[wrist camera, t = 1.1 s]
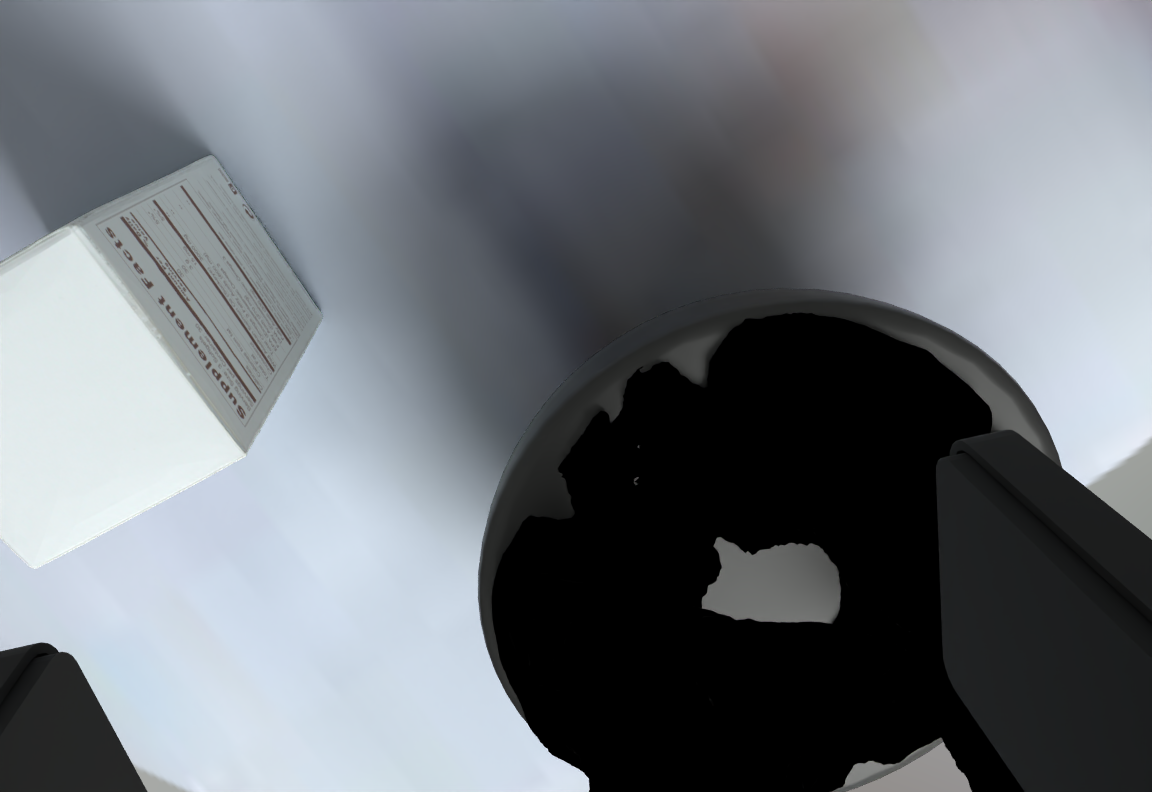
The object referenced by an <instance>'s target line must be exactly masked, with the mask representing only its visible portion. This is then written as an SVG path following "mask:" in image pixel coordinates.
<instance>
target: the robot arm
mask: <svg viewBox="0 0 1152 792" xmlns="http://www.w3.org/2000/svg"><path fill="white" fill-rule="evenodd" d="M936 486H937V513H938V539H939V566H940V593H941V620H942V646H943V660H944V664H945V668H946V671H947V674H948V677H949V679H950V682H951V684H952V686H953V688H954V689H955V691H956V693H957V694H958V696H959V697H960V698H961V700H962V701H963V703H964V704H965V706H966V707H967V709H968V710H969V712H970V713H971V714H972V716H973V717H974V719H975V720H976V722H977V723H978V725H979V726H980V728H981V729H982V730H983V732H984V733H985V735H986V736H987V738H988V739H989V741H990V742H991V744H992V745H993V746H994V748H995V749H996V751H997V752H998V754H999V755H1000V757H1001V758H1002V760H1003V761H1004V762H1005V764H1006V765H1007V767H1008V768H1009V770H1010V771H1011V773H1012V774H1013V776H1014V777H1015V778H1016V780H1017V781H1018V783H1019V784H1020V786H1021V787H1022V789H1023V790H1024V792H1152V540H1151V539H1150V538H1149V537H1148V536H1146V535H1145V534H1144V533H1143V532H1141V531H1140V530H1139V529H1138V528H1136V527H1135V526H1134V525H1133V524H1131V523H1130V522H1129V521H1128V520H1126V519H1125V518H1124V517H1123V516H1121V515H1120V514H1119V513H1118V512H1116V511H1115V510H1114V509H1113V508H1111V507H1110V506H1109V505H1107V504H1106V503H1105V502H1104V501H1102V500H1101V499H1100V498H1099V497H1097V496H1096V495H1095V494H1094V493H1092V492H1091V491H1090V490H1089V489H1087V488H1086V487H1085V486H1084V485H1082V484H1081V483H1080V482H1079V481H1077V480H1076V479H1075V478H1074V477H1072V476H1071V475H1070V474H1069V473H1067V472H1066V471H1065V470H1064V469H1062V468H1061V467H1060V466H1059V465H1057V464H1056V463H1055V462H1054V461H1052V460H1051V459H1050V458H1049V457H1047V456H1046V455H1045V454H1044V453H1042V452H1041V451H1040V450H1039V449H1037V448H1036V447H1035V446H1034V445H1032V444H1031V443H1030V442H1029V441H1027V440H1026V439H1025V438H1023V437H1022V436H1021V435H1020V434H1018V433H1017V432H1015V431H1013V430H1002V431H997V432H993V433H988V434H984V435H979V436H975V437H970V438H966V439H961V440H957V441H955V442H954V443H953V444H952V447H951V450H950V456H947V457H943V458H940V459H939V460H938V462H937V466H936ZM0 792H147V790H146V789H145V786H144V785H143V783H142V781H141V779H140V777H139V775H138V774H137V772H136V770H135V768H134V766H133V764H132V762H131V761H130V759H129V757H128V755H127V753H126V751H125V750H124V748H123V746H122V744H121V742H120V740H119V738H118V737H117V735H116V733H115V731H114V729H113V727H112V726H111V724H110V722H109V720H108V718H107V716H106V714H105V713H104V711H103V709H102V707H101V705H100V703H99V702H98V700H97V698H96V696H95V694H94V692H93V690H92V689H91V687H90V685H89V683H88V681H87V679H86V678H85V676H84V674H83V672H82V670H81V668H80V666H79V665H78V663H77V661H76V660H75V659H74V657H73V656H72V655H70V654H69V653H66V652H58V650H57V649H56V648H55V647H53V646H52V645H50V644H48V643H36V644H32V645H27V646H23V647H18V648H14V649H9V650H5V651H0Z"/></svg>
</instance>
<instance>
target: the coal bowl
mask: <svg viewBox="0 0 1152 792" xmlns="http://www.w3.org/2000/svg"><path fill="white" fill-rule="evenodd" d="M1002 430H1013V431H1015V432H1017V433H1018V434H1020V435H1021V436H1022V437H1023V438H1025V439H1026V440H1027V441H1029V442H1030V443H1031V444H1032V445H1034V446H1035V447H1036V448H1037V449H1039V450H1040V451H1041V452H1042V453H1044V454H1045V455H1046V456H1047V457H1049V458H1050V459H1051V460H1052V461H1054V462H1055V463H1056V464H1057V465H1059V466H1060V467H1061V468H1062V466H1061V462H1060V459H1059V455H1058V452H1057V450H1056V447H1055V445H1054V443H1053V440H1052V438H1051V435H1050V433H1049V431H1048V429H1047V427H1046V425H1045V423H1044V422H1043V420H1042V418H1041V416H1040V415H1039V413H1038V411H1037V409H1036V408H1035V406H1034V404H1033V403H1032V402H1031V400H1030V399H1029V398H1028V396H1027V395H1026V394H1025V392H1024V391H1023V390H1022V388H1021V387H1020V386H1019V384H1018V383H1017V382H1016V381H1015V380H1014V379H1013V378H1012V377H1011V376H1010V375H1009V374H1008V373H1007V371H1006V370H1005V369H1004V368H1003V367H1002V366H1001V365H1000V364H999V363H997V362H996V361H995V360H994V359H993V358H991V357H990V356H989V355H988V354H986V353H985V352H984V351H983V350H981V349H980V348H979V347H978V346H976V345H975V344H973V343H971V342H970V341H968V340H967V339H965V338H963V337H962V336H960V335H959V334H957V333H955V332H954V331H952V330H950V329H948V328H946V327H944V326H942V325H940V324H938V323H936V322H934V321H931V320H929V319H927V318H925V317H923V316H921V315H919V314H916V313H914V312H911V311H908V310H905V309H902V308H900V307H897V306H894V305H891V304H888V303H885V302H882V301H878V300H874V299H869V298H865V297H861V296H857V295H852V294H848V293H841V292H833V291H826V290H817V289H785V288H777V289H763V290H750V291H744V292H738V293H732V294H726V295H721V296H717V297H713V298H709V299H706V300H702V301H698V302H694V303H691V304H688V305H686V306H683V307H680V308H678V309H675V310H672V311H669V312H667V313H664V314H662V315H660V316H658V317H656V318H653V319H651V320H649V321H647V322H645V323H643V324H641V325H639V326H637V327H636V328H634V329H632V330H631V331H629V332H627V333H625V334H624V335H622V336H620V337H619V338H617V339H615V340H614V341H613V342H611V343H610V344H609V345H607V346H606V347H604V348H603V349H602V350H600V351H599V352H597V353H596V354H595V355H593V356H592V357H591V358H590V359H588V360H587V361H586V362H585V363H584V364H583V365H582V366H580V367H579V368H578V369H577V370H576V371H575V372H574V373H572V374H571V375H570V376H569V377H568V378H567V379H566V381H565V382H564V383H563V384H562V385H561V386H560V387H559V388H558V389H557V390H556V391H555V392H554V393H553V394H552V395H551V397H550V398H549V399H548V401H547V402H546V403H545V404H544V406H543V407H542V408H541V410H540V411H539V412H538V413H537V415H536V416H535V417H534V419H533V420H532V422H531V423H530V425H529V427H528V428H527V430H526V431H525V433H524V434H523V436H522V438H521V439H520V441H519V442H518V444H517V446H516V447H515V449H514V451H513V453H512V455H511V457H510V459H509V462H508V464H507V466H506V468H505V470H504V472H503V474H502V477H501V479H500V482H499V485H498V488H497V490H496V493H495V496H494V499H493V501H492V504H491V507H490V512H489V516H488V520H487V524H486V528H485V532H484V536H483V541H482V548H481V556H480V563H479V571H478V602H479V611H480V620H481V626H482V630H483V634H484V639H485V643H486V647H487V650H488V652H489V655H490V658H491V661H492V664H493V666H494V669H495V671H496V674H497V676H498V678H499V680H500V682H501V684H502V686H503V688H504V690H505V692H506V694H507V695H508V697H509V698H510V700H511V702H512V703H513V705H514V706H515V708H516V709H517V711H518V712H519V714H520V715H521V716H522V717H523V719H524V720H525V721H526V722H527V723H528V725H529V727H530V729H531V730H532V732H533V733H534V734H535V735H536V736H537V737H538V739H539V740H540V742H541V743H542V744H543V745H544V746H545V747H546V748H548V751H549V752H550V753H551V754H552V755H553V756H555V757H557V758H559V759H561V760H564V761H565V762H567V763H569V764H571V765H572V766H574V767H576V768H578V769H580V770H581V771H583V772H584V773H585V775H586V776H587V777H588V778H589V787H590V790H589V792H846V791H849V790H852V789H855V788H858V787H860V786H863V785H865V784H867V783H870V782H872V781H875V780H877V779H879V778H882V777H884V776H886V775H888V774H890V773H892V772H894V771H896V770H898V769H900V768H902V767H904V766H906V765H907V764H909V763H911V762H912V761H914V760H916V759H917V758H919V757H921V756H923V755H924V754H926V753H928V752H929V751H930V750H932V749H933V748H935V747H936V746H938V745H939V744H940V743H942V742H944V743H945V746H946V748H947V749H948V750H949V751H950V753H951V756H952V757H953V759H954V760H955V761H956V766H957V767H958V769H959V770H960V771H961V772H963V773H964V774H965V776H966V777H967V779H968V781H969V785H970V788H971V790H972V792H1024V790H1023V789H1022V787H1021V786H1020V784H1019V783H1018V781H1017V780H1016V778H1015V777H1014V776H1013V774H1012V773H1011V771H1010V770H1009V768H1008V767H1007V765H1006V764H1005V762H1004V761H1003V760H1002V758H1001V757H1000V755H999V754H998V752H997V751H996V749H995V748H994V746H993V745H992V744H991V742H990V741H989V739H988V738H987V736H986V735H985V733H984V732H983V730H982V729H981V728H980V726H979V725H978V723H977V722H976V720H975V719H974V717H973V716H972V714H971V713H970V712H969V710H968V709H967V707H966V706H965V704H964V703H963V701H962V700H961V698H960V697H959V696H958V694H957V693H956V691H955V689H954V688H953V686H952V684H951V682H950V679H949V677H948V674H947V671H946V668H945V664H944V660H943V646H942V620H941V593H940V566H939V539H938V513H937V486H936V466H937V462H938V460H939V459H940V458H943V457H947V456H950V450H951V447H952V444H953V443H954V442H955V441H957V440H961V439H966V438H970V437H975V436H979V435H984V434H988V433H993V432H997V431H1002Z"/></svg>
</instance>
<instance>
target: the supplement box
mask: <svg viewBox="0 0 1152 792" xmlns="http://www.w3.org/2000/svg"><path fill="white" fill-rule="evenodd" d="M322 319H323V315H322V313H321V312H320V310H319V309H318V308H317V306H316V305H315V303H314V302H313V300H312V299H311V297H310V296H309V294H308V293H307V291H306V290H305V288H304V287H303V285H302V284H301V282H300V281H299V280H298V278H297V277H296V275H295V274H294V272H293V270H292V269H291V268H290V266H289V265H288V263H287V262H286V260H285V259H284V257H283V256H282V254H281V253H280V252H279V250H278V248H277V247H276V245H275V244H274V243H273V241H272V240H271V238H270V237H269V235H268V234H267V232H266V231H265V229H264V228H263V226H262V225H261V223H260V222H259V220H258V219H257V217H256V216H255V214H254V213H253V211H252V210H251V209H250V207H249V206H248V204H247V203H246V201H245V200H244V198H243V197H242V195H241V194H240V192H239V191H238V189H237V188H236V187H235V185H234V184H233V182H232V181H231V179H230V178H229V176H228V175H227V173H226V172H225V170H224V169H223V167H222V166H221V165H220V163H219V162H218V160H217V159H216V158H215V157H214V156H213V155H209V156H206V157H204V158H202V159H199V160H197V161H195V162H193V163H191V164H189V165H187V166H185V167H183V168H181V169H179V170H177V171H175V172H173V173H171V174H169V175H167V176H165V177H163V178H161V179H158V180H156V181H154V182H152V183H150V184H148V185H146V186H143V187H141V188H139V189H137V190H135V191H133V192H130V193H128V194H126V195H124V196H122V197H119V198H117V199H115V200H113V201H111V202H108V203H106V204H104V205H102V206H100V207H97V208H95V209H94V210H92V211H90V212H88V213H86V214H84V215H82V216H81V217H79V218H77V219H75V220H73V221H71V222H70V223H68V224H66V225H64V226H62V227H61V228H59V229H57V230H55V231H53V232H52V233H50V234H48V235H46V236H44V237H43V238H41V239H39V240H37V241H35V242H34V243H32V244H30V245H28V246H27V247H25V248H23V249H21V250H20V251H18V252H16V253H15V254H13V255H11V256H9V257H8V258H6V259H4V260H3V261H1V262H0V538H1V539H2V541H3V542H4V543H5V544H6V545H7V546H8V547H9V548H10V549H11V550H12V551H13V552H14V553H15V554H16V555H17V556H18V557H19V558H20V559H21V560H23V561H24V562H25V563H26V564H27V565H28V566H29V567H30V568H33V569H36V568H38V567H40V566H42V565H44V564H46V563H48V562H50V561H52V560H54V559H56V558H58V557H60V556H62V555H64V554H66V553H68V552H70V551H72V550H74V549H76V548H78V547H80V546H82V545H83V544H85V543H87V542H89V541H91V540H93V539H94V538H96V537H98V536H100V535H102V534H104V533H106V532H107V531H109V530H111V529H113V528H115V527H117V526H119V525H121V524H122V523H124V522H126V521H128V520H130V519H132V518H134V517H135V516H137V515H139V514H141V513H143V512H145V511H147V510H149V509H150V508H152V507H154V506H156V505H158V504H160V503H162V502H163V501H165V500H167V499H169V498H171V497H173V496H175V495H177V494H178V493H180V492H182V491H184V490H186V489H188V488H189V487H191V486H193V485H195V484H197V483H199V482H200V481H202V480H204V479H206V478H208V477H210V476H211V475H213V474H215V473H217V472H219V471H220V470H222V469H224V468H226V467H228V466H229V465H231V464H233V463H235V462H237V461H238V460H240V459H242V458H244V457H245V456H247V453H248V451H249V449H250V447H251V445H252V444H253V442H254V440H255V438H256V437H257V435H258V434H259V432H260V430H261V428H262V426H263V424H264V423H265V421H266V419H267V417H268V415H269V413H270V412H271V410H272V408H273V407H274V405H275V403H276V401H277V400H278V398H279V396H280V395H281V393H282V391H283V389H284V388H285V386H286V384H287V382H288V380H289V379H290V377H291V375H292V373H293V372H294V370H295V368H296V366H297V364H298V363H299V361H300V359H301V357H302V355H303V354H304V352H305V350H306V348H307V347H308V345H309V343H310V341H311V339H312V337H313V336H314V334H315V332H316V330H317V328H318V326H319V325H320V323H321V321H322Z"/></svg>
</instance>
